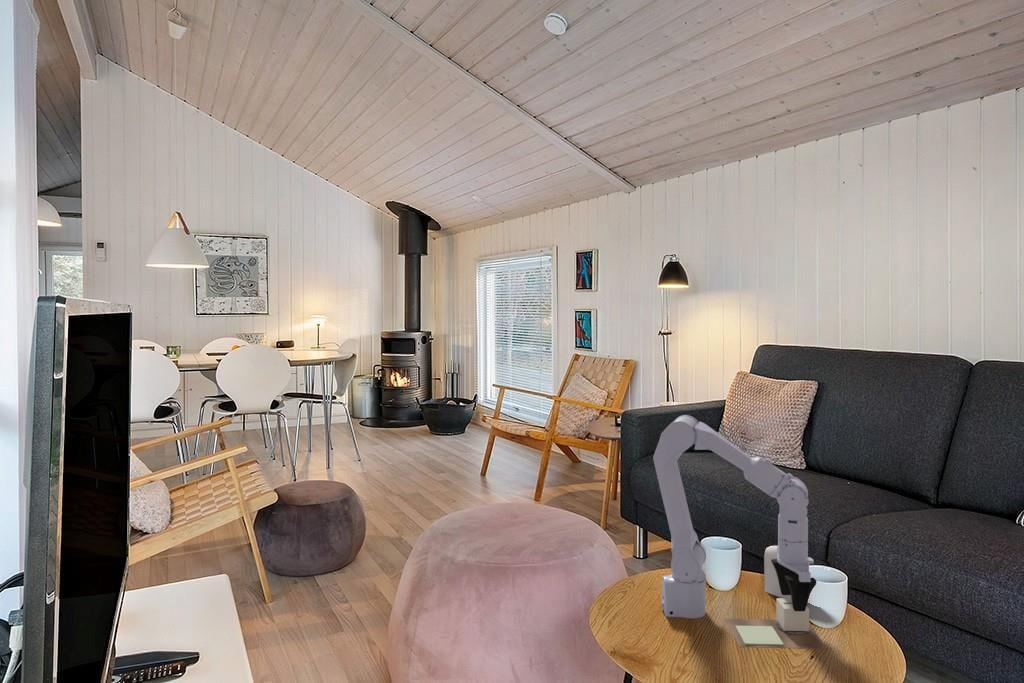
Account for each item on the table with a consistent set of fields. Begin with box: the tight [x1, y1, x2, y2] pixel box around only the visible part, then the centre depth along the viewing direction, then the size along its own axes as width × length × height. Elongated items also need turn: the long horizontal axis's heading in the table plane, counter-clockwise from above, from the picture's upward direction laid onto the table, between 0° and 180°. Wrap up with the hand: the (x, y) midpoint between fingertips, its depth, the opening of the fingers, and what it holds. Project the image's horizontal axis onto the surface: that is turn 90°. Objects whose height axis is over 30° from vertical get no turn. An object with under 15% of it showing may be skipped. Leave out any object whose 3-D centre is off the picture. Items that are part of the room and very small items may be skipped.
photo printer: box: [763, 545, 811, 598], centre depth 156 cm, size 10×4×12 cm, turn 39°
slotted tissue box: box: [775, 597, 810, 631], centre depth 141 cm, size 5×5×5 cm
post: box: [776, 622, 809, 635], centre depth 141 cm, size 6×6×4 cm
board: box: [724, 618, 829, 650], centre depth 139 cm, size 17×12×1 cm
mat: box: [735, 626, 784, 646], centre depth 137 cm, size 8×8×1 cm
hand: (792, 602), depth 140 cm, fingers open, 7 cm apart
